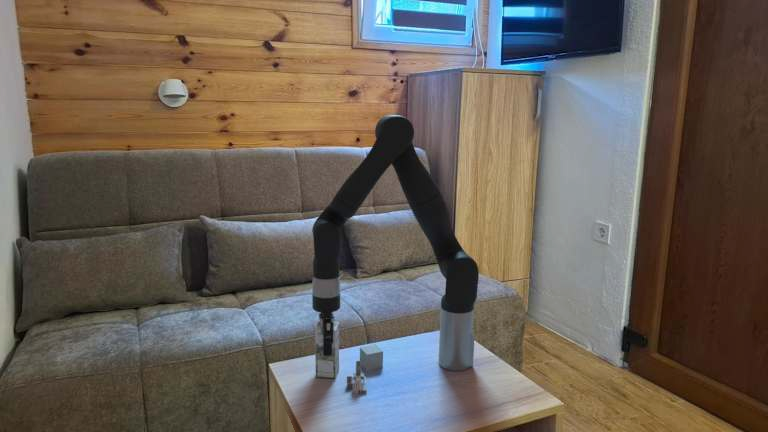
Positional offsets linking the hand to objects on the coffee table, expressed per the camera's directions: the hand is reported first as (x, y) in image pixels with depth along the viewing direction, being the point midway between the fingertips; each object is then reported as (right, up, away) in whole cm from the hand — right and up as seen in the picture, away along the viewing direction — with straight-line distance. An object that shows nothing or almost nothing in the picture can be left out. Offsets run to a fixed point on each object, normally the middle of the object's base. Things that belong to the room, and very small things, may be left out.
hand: (326, 349), depth 147 cm
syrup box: (0, -7, +1) cm, 7 cm away
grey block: (+12, -6, +7) cm, 15 cm away
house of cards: (+7, -9, -4) cm, 12 cm away
